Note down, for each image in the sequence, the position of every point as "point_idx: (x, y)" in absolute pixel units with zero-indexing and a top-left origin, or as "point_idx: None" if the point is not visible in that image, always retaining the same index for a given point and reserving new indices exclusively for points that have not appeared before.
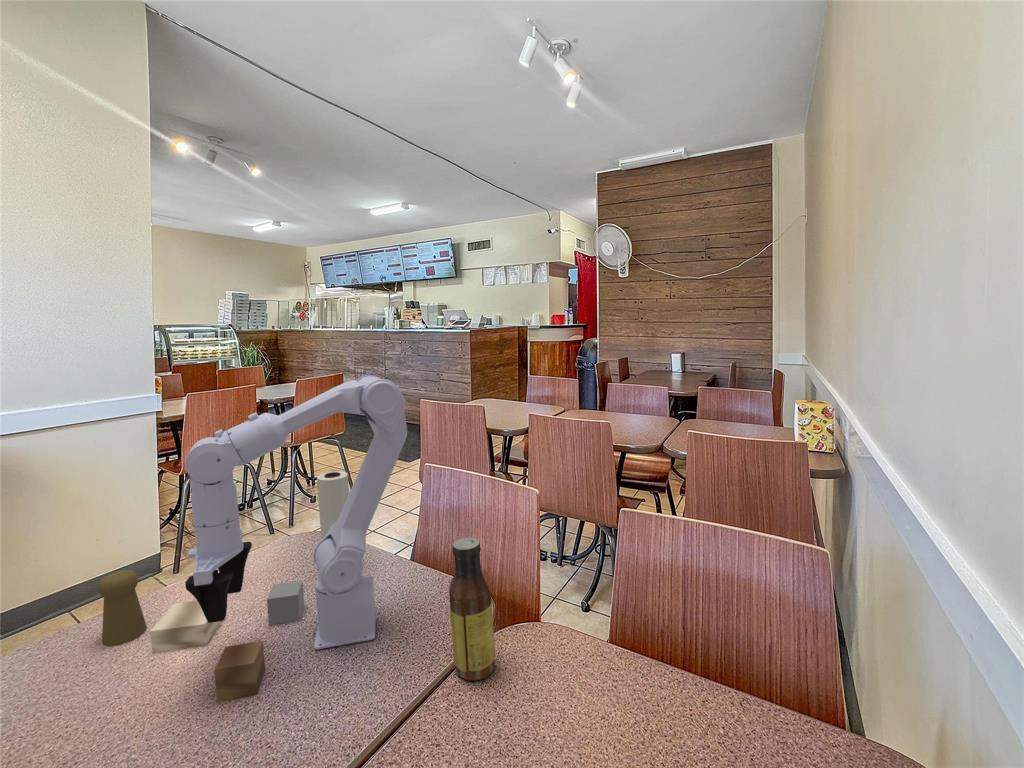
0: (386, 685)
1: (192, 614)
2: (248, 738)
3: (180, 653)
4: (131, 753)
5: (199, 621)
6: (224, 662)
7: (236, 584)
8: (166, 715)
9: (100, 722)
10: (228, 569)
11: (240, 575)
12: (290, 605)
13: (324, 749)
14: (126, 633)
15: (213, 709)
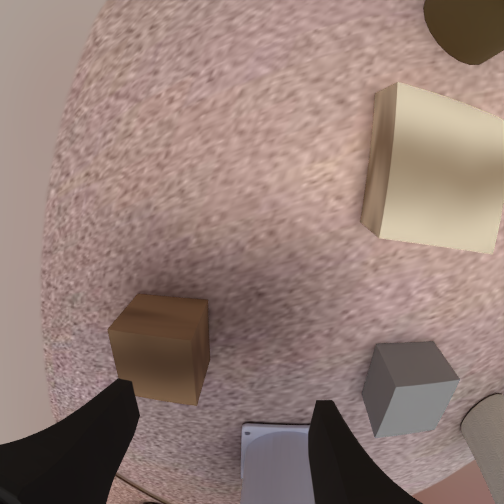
0: (145, 467)
1: (447, 186)
2: (67, 344)
3: (348, 163)
4: (56, 185)
5: (400, 217)
6: (128, 346)
7: (312, 452)
8: (123, 208)
9: (140, 82)
10: (327, 496)
11: (314, 489)
12: (374, 408)
13: (60, 408)
14: (443, 27)
15: (122, 290)
